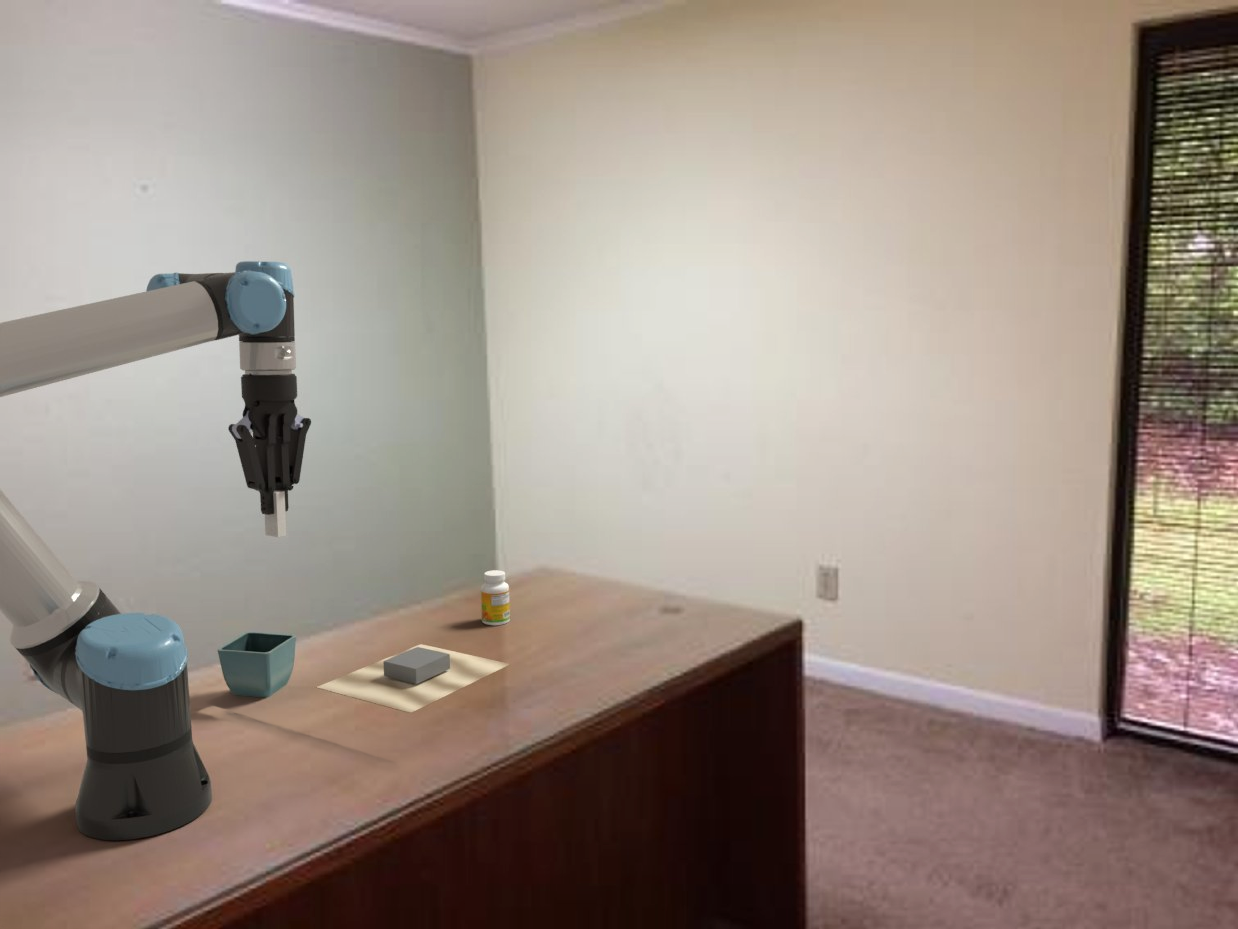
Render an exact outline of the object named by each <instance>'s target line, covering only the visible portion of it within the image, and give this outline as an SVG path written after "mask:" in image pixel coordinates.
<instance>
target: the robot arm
mask: <svg viewBox="0 0 1238 929" xmlns="http://www.w3.org/2000/svg"><path fill="white" fill-rule="evenodd" d="M292 276H293V274H292V269H291V267H290V266H289V265H288V264H287V263H285V262H280V261H260V260H259V261H256V260H255V261H253V260H252V261H251V260H250V261H249V260H248V261H247V260H245V261H243V260H242V261H239V262H237V263H236V265H235V271H233V272H210V273H209V272H207V273H179V272H173V273H157V274H155V275H153V276H152V277H151V278H150V280H149V282H148V284H147V286H146V290H145V291H141V292H138V293H134V294H129V295H124V296H119V297H115V298H109V299H105V300H99V301H95V302H91V303H86V304H82V305H77V306H73V307H67V308H62V309H58V310H54V311H49V312H44V313H40V314H36V315H35V314H34V315H30V316H25V317H21V318H17V319H11V320H8V321H3V322H0V398H3V397H5V396H10V395H14V394H18V393H21V392H26V391H28V390H32V389H37V388H40V387H44V386H47V385H48V386H49V385H52V384H55V383H59V382H63V381H67V380H70V379H74V378H78V377H82V376H85V375H89V374H93V373H96V372H100V371H104V370H108V369H112V368H114V367H118V366H123V365H127V364H130V363H134V362H138V361H142V360H146V359H149V358H152V357H157V356H160V355H161V356H162V355H165V354H168V353H172V352H176V351H179V350H183V349H187V348H191V347H194V346H198V345H199V346H200V345H202V344H205V343H209V342H214V341H219V340H223V339H227V338H231V337H235V336H238V341H239V342H238V344H239V346H238V348H239V368H240V370H241V371H244V374H242V375H241V376H240V382H241V383H240V386H241V398H242V400H243V402H244V408H243V410H242V418H241V419H240V420H239V421H238V422H237V423H230V424H229V425H228V432H229V434H231V436H232V437H233V439H234V441H235V445H236V448H237V452H238V456H239V461H240V464H241V468H242V471H243V475H244V478H245V484H246V486H247V488H248V489H252V490H254V491H258V492H259V495H260V496H259V499H260V500H259V501H260V512H261V514H262V515H264V526H265V528H264V531H265V536H269V537H275V538H281V537H285V536H287V523H286V522H287V520H286V518H287V517H286V512H288V511H289V508H290V507H289V491H292V490H293V489H294V485H297V484H299V482H300V480H301V479H300V478H301V473H302V472H301V471H302V465H303V458H304V451H305V446H306V445H305V444H306V438H307V434H308V431H309V429H310V426H311V425H312V419H311V418H309V417H304V416H302V415H300V414H299V413H298V407H297V406H296V404H295V400H296V399H297V398H298V382H297V381H298V379H297V375H296V374H295V373H293V371H294V370H295V369H297V361H296V360H297V356H296V354H297V353H296V341H295V336H296V335H295V334H296V333H295V329H296V328H295V305H294V303H295V302H294V298H295V291H294V284H293V277H292ZM10 500H11V499H9V498H8V497H7V496H6V494H5V493H4V492H3V491H2V490H1V489H0V612H1V613H2V614H3V616H4V617H5V618H6V619H7V620H8V621H9V622H10V624H12V628H11V634H10V639H9V640H10V644H11V645H12V647H13V648H15V649H16V651H17V652H18V653H19V654H20V655H21V656H22V657H23V658H24V659H25V661H26V662H27V663H28V665H29V668H30V669H31V670H32V673H33V675H34V676H35V678H36V680H38V681H39V683H41V684H42V685H43V686H44V687H45V688H47V689H48V690H50V691H51V692H53V693H54V694H56V695H60V696H61V697H62V698H64V699H65V700H66V701H68V702H69V703H71V704H72V705H74V706H75V707H77V708H78V709H79V710H81V712H82V719H83V728H84V738H85V739H84V740H85V748H86V749H85V750H86V764H85V767H84V770H83V771H84V772H83V774H82V778H81V782H80V788H79V791H78V796H77V799H76V802H75V820H76V821H75V822H76V826H77V829H78V831H80V833H82V834H84V835H86V836H87V837H90V838H93V839H97V840H105V841H127V840H129V841H130V840H137V839H142V838H148V837H149V838H150V837H152V836H156V835H160V834H164V833H168V832H169V831H173V830H175V829H178V828H179V827H182V826H184V825H186V824H188V823H191V822H192V821H194V820H196V819H197V818H198V817H199V816H201V815H202V814H203V813H204V812H205V811H207V809H208V808H210V805H211V803H212V800H213V793H212V792H213V791H212V790H213V789H212V781H211V777H210V776H209V774H208V771H207V768H206V767H205V765H204V763H203V761H202V759H201V756H200V754H199V752H198V749H197V748H196V745H195V743H194V741H193V740H194V739H193V732H192V731H193V730H192V720H191V719H192V718H191V705H190V704H191V701H190V687H189V674H188V648H187V645H186V644H185V639H184V632H183V631H182V628H181V627H180V625H178V623H177V622H175V621H174V620H173V619H171V618H169V617H166V616H165V615H160V614H155V613H151V614H147V613H146V612H125V613H121V612H120V610H119V609H118V608H117V607H116V605H115V604H113V601H111V600H110V599H109V597H108V596H107V595H106V594H105V592H104V591H103V590H102V589H101V588H100V587H99V585H98V584H97V583H96V582H95V581H89V580H88V581H87V580H85V581H84V580H77V579H76V578H75V577H74V576H73V575H72V573H71V572H70V571H69V570H68V568H67V567H66V566H65V565H64V563H63V562H62V561H61V560H60V559H59V558H58V557H57V555H56V554H55V553H54V552H53V551H52V549H51V548H50V547H49V546H48V545H47V543H46V542H45V541H44V540H43V538H42V537H41V536H40V535H39V534H38V532H37V531H36V530H35V529H34V527H32V526H31V524H30V523H29V522H28V521H27V519H26V518H25V517H24V516H23V514H21V513H20V510H18V509H17V507H16V506H15V505H14V504H13V503H12V502H11V501H10Z"/></svg>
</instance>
